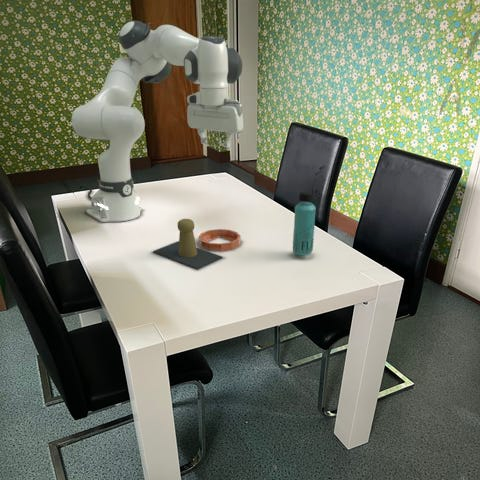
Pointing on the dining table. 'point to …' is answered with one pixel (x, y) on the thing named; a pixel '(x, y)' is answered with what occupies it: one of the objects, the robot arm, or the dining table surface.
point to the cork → (186, 238)
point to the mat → (194, 262)
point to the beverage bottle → (304, 225)
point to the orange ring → (222, 233)
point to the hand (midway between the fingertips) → (215, 145)
